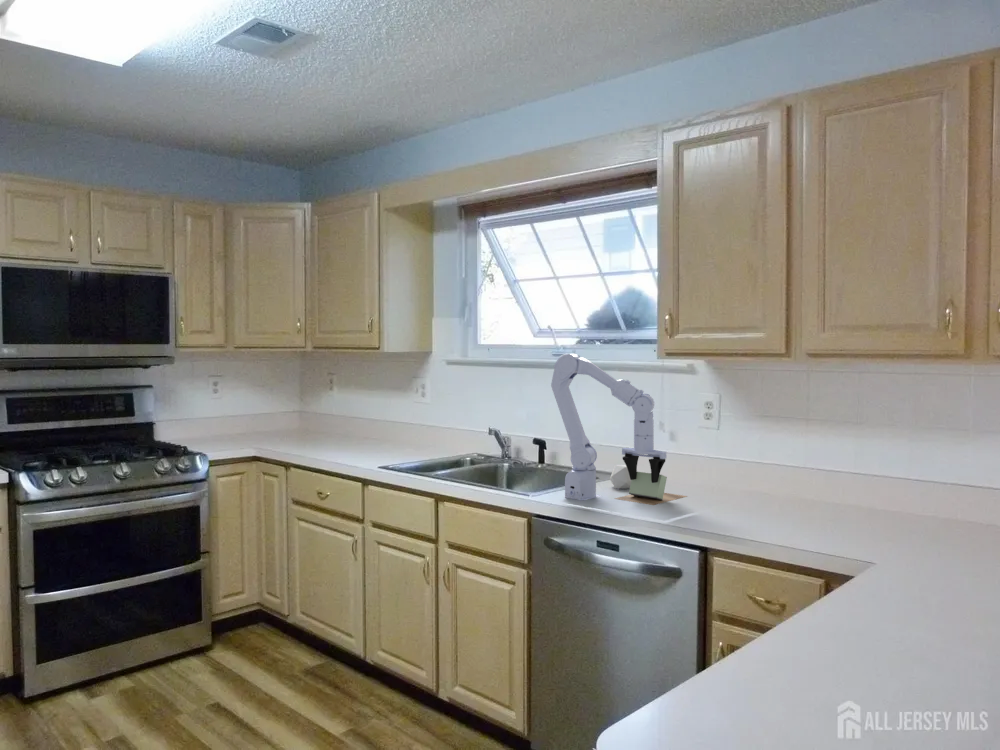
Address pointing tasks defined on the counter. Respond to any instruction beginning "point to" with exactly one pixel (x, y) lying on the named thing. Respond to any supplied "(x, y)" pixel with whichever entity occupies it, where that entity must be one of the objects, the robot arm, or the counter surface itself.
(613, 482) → the die
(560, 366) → the robot arm
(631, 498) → the walnut board
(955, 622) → the counter surface
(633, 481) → the sage slab
